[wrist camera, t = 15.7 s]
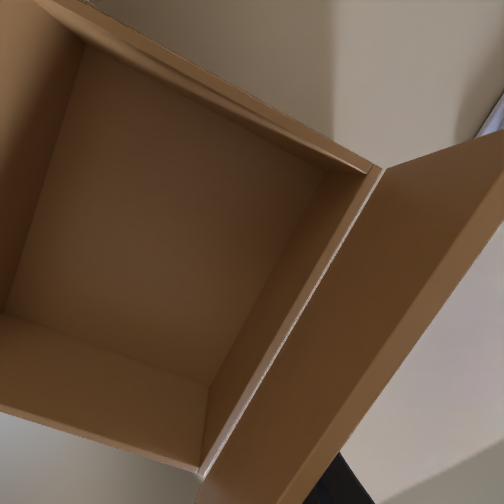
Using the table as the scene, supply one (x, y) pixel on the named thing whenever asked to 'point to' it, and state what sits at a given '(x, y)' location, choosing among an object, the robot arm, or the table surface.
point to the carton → (149, 233)
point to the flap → (362, 321)
